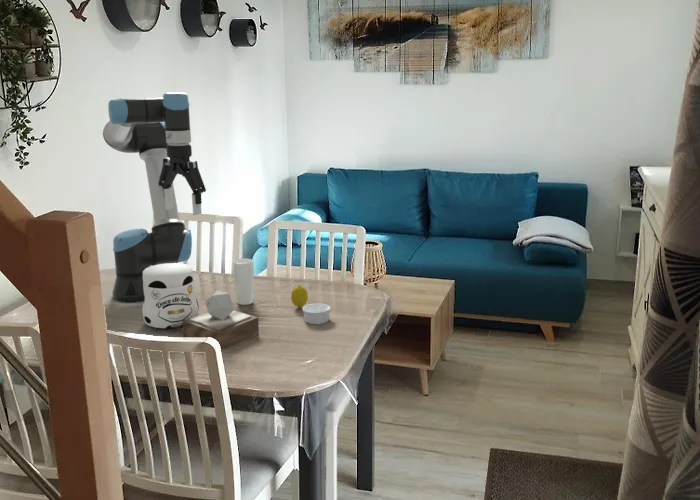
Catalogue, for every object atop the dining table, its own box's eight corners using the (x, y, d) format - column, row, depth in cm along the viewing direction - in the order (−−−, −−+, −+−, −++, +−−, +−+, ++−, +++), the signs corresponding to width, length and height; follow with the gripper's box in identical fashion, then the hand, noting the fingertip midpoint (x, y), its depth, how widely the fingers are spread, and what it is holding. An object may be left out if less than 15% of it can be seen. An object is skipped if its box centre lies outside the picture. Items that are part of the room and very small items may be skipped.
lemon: (310, 306, 244) (310, 284, 242) (303, 311, 239) (302, 288, 237) (296, 304, 246) (295, 281, 244) (288, 309, 241) (287, 286, 239)
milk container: (174, 338, 218) (170, 281, 213) (131, 328, 226) (126, 273, 221) (210, 319, 232) (207, 266, 228) (169, 311, 240) (165, 259, 236)
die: (213, 313, 223) (197, 294, 217) (237, 298, 223) (221, 279, 217) (218, 330, 217) (202, 311, 211) (243, 315, 217) (227, 296, 210)
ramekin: (299, 324, 229) (298, 311, 228) (308, 314, 237) (307, 302, 236) (325, 326, 227) (325, 313, 225) (333, 316, 235) (333, 304, 234)
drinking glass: (251, 307, 244) (249, 264, 240) (232, 305, 245) (230, 263, 241) (257, 300, 250) (256, 258, 246) (239, 299, 251) (237, 257, 247)
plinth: (183, 337, 218) (182, 319, 216) (223, 322, 230) (222, 304, 228) (218, 350, 208) (217, 331, 207) (258, 334, 220) (258, 315, 219)
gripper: (143, 142, 227) (149, 208, 232) (195, 148, 212) (199, 218, 217) (163, 139, 232) (168, 204, 238) (215, 145, 217) (218, 214, 223)
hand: (183, 211), depth 228 cm, fingers open, 13 cm apart
